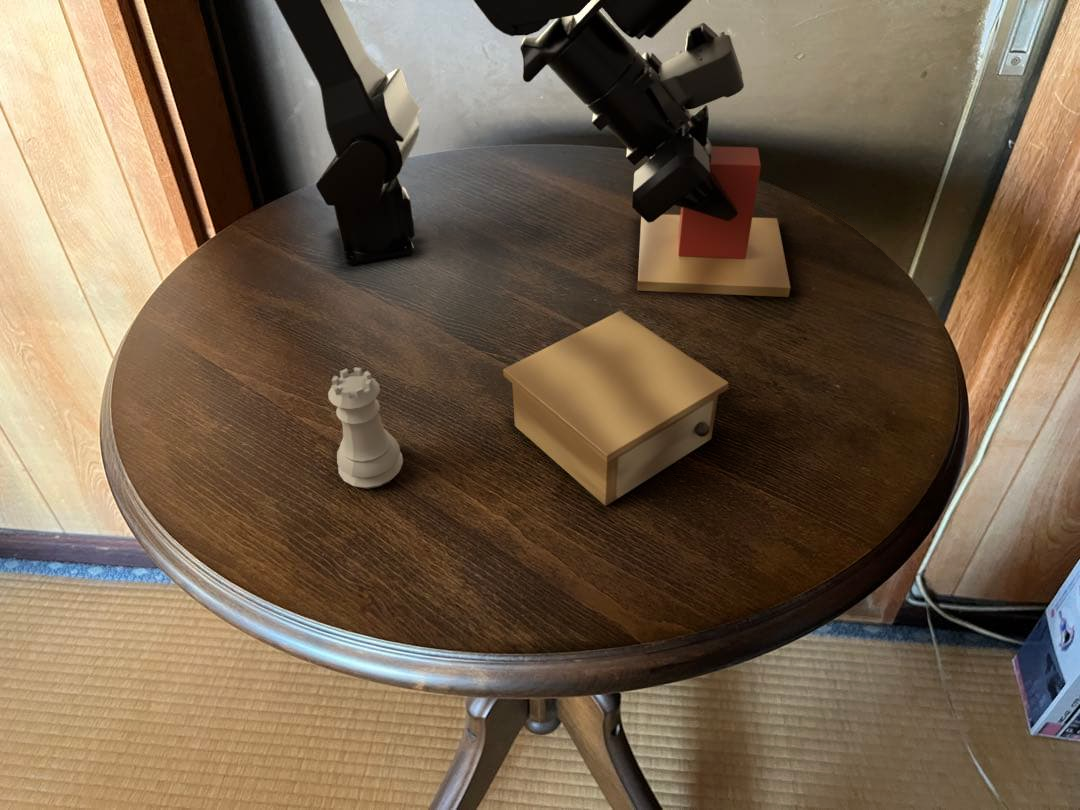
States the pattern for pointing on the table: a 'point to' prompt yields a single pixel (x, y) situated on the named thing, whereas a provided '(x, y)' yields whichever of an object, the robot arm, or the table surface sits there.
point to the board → (712, 263)
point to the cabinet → (614, 404)
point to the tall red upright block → (740, 184)
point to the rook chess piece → (363, 432)
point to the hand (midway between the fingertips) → (732, 206)
